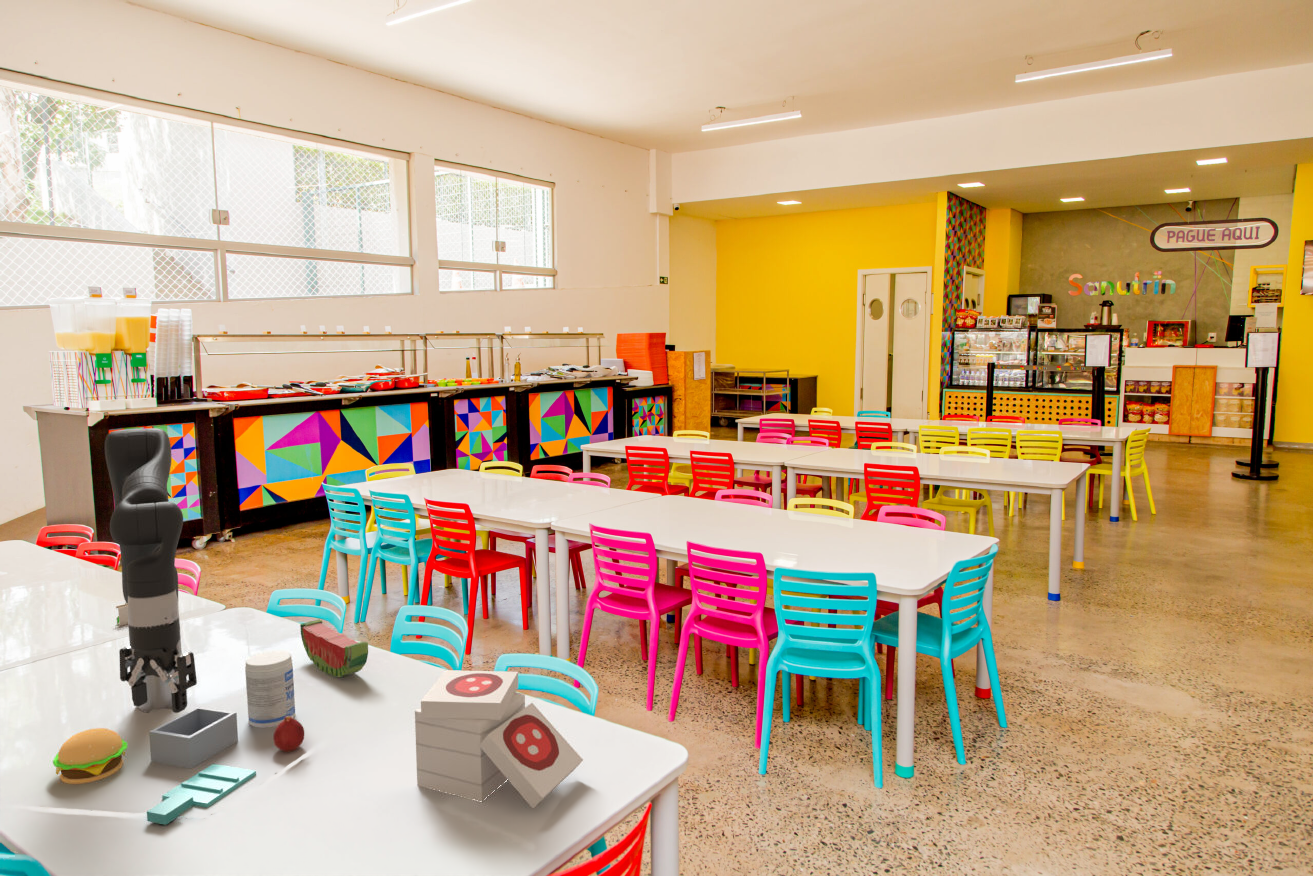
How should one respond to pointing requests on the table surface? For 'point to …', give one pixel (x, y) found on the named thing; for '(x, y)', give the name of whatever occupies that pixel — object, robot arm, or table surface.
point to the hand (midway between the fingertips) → (160, 707)
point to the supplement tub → (269, 688)
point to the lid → (199, 791)
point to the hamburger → (90, 756)
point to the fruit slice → (332, 649)
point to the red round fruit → (289, 734)
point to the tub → (193, 737)
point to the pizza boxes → (487, 739)
